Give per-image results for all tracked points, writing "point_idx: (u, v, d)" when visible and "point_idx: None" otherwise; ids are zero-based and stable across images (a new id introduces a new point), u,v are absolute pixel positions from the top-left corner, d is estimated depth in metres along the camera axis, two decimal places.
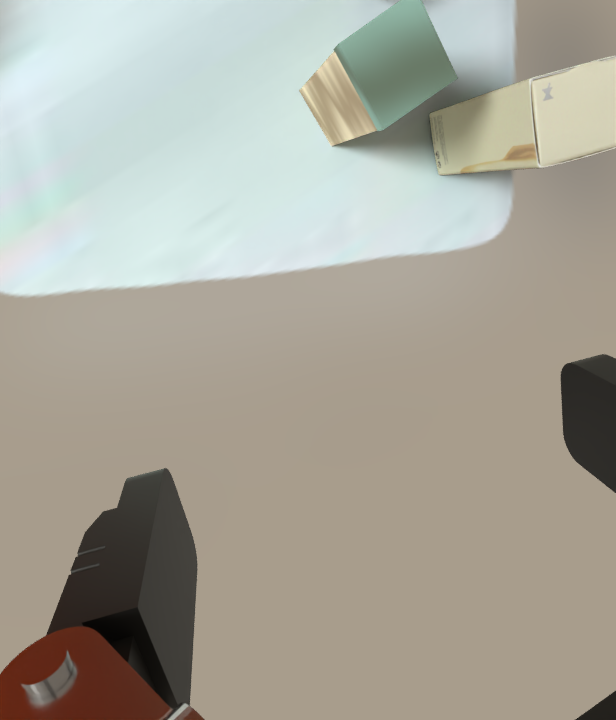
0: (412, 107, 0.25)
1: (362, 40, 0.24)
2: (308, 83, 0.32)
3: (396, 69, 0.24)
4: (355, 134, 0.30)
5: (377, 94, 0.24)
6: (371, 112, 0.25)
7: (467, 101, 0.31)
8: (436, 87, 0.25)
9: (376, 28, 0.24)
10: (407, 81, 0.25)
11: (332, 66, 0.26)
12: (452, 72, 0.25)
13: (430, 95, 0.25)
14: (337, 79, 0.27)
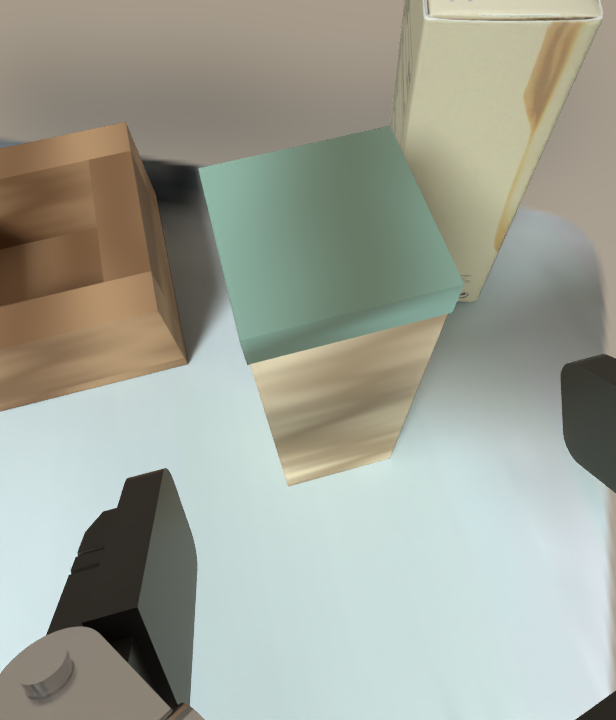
0: (427, 215, 0.10)
1: (251, 286, 0.10)
2: (285, 464, 0.17)
3: (336, 232, 0.10)
4: (410, 391, 0.14)
5: (378, 281, 0.10)
6: (412, 308, 0.10)
7: None
8: (397, 163, 0.11)
9: (238, 255, 0.10)
10: (368, 216, 0.10)
11: (278, 389, 0.12)
12: (375, 132, 0.11)
13: (410, 178, 0.11)
14: (305, 388, 0.12)
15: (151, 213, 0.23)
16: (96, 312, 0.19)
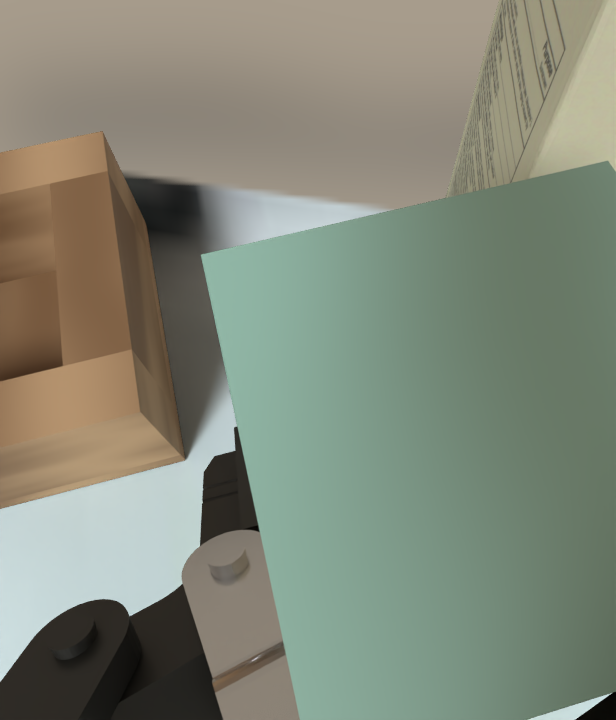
0: None
1: (338, 592, 0.04)
2: None
3: (530, 423, 0.04)
4: None
5: None
6: None
7: None
8: None
9: (297, 485, 0.04)
10: (598, 380, 0.04)
11: None
12: (581, 175, 0.05)
13: None
14: None
15: (137, 253, 0.17)
16: (50, 414, 0.13)
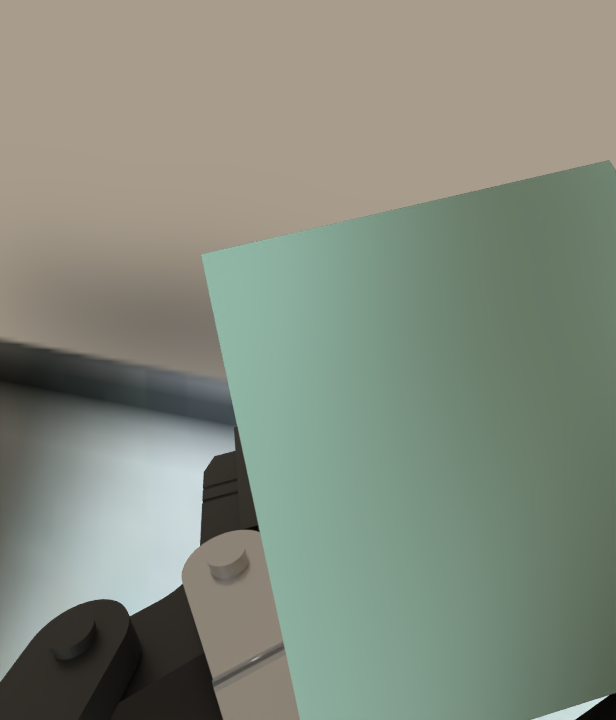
0: None
1: (338, 592, 0.04)
2: None
3: (529, 423, 0.04)
4: None
5: None
6: None
7: None
8: None
9: (296, 485, 0.04)
10: (600, 380, 0.04)
11: None
12: (582, 174, 0.05)
13: None
14: None
15: None
16: None
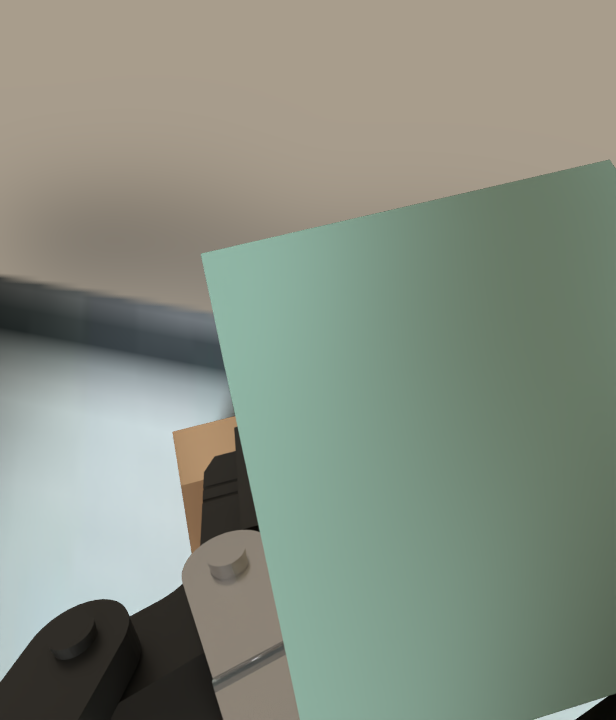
0: None
1: (338, 593, 0.04)
2: None
3: (531, 422, 0.04)
4: None
5: None
6: None
7: None
8: None
9: (297, 486, 0.04)
10: (599, 379, 0.04)
11: None
12: (582, 174, 0.05)
13: None
14: None
15: None
16: None
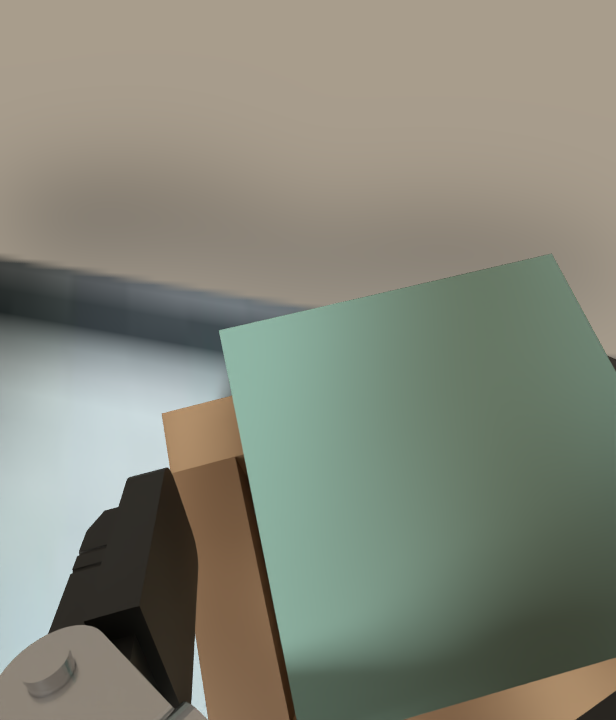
0: None
1: (323, 606, 0.05)
2: None
3: (476, 475, 0.05)
4: None
5: (574, 602, 0.05)
6: None
7: None
8: (576, 332, 0.06)
9: (293, 522, 0.05)
10: (532, 440, 0.06)
11: None
12: (529, 266, 0.06)
13: (602, 361, 0.06)
14: None
15: None
16: (564, 710, 0.11)
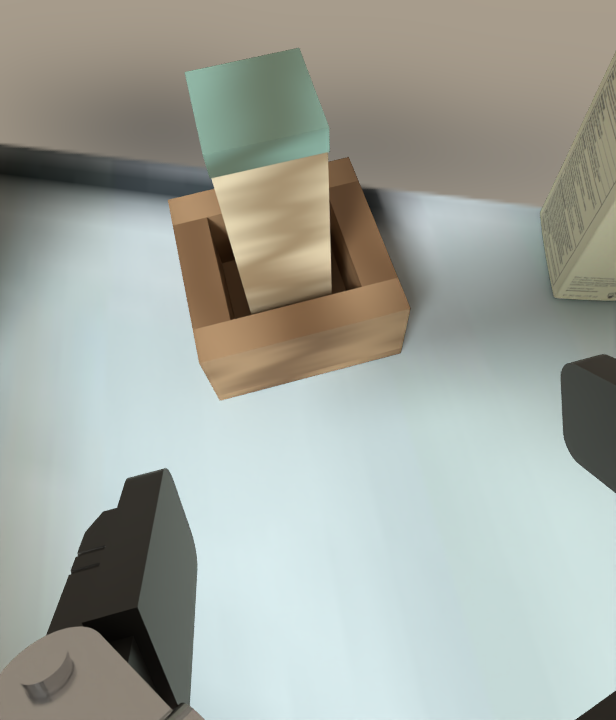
0: (313, 93, 0.18)
1: (211, 130, 0.17)
2: (250, 302, 0.25)
3: (261, 104, 0.18)
4: (325, 231, 0.22)
5: (281, 126, 0.17)
6: (302, 143, 0.17)
7: (600, 226, 0.23)
8: (300, 67, 0.18)
9: (205, 116, 0.18)
10: (281, 96, 0.18)
11: (232, 208, 0.19)
12: (290, 51, 0.19)
13: (307, 75, 0.18)
14: (250, 211, 0.20)
15: None
16: (362, 310, 0.24)
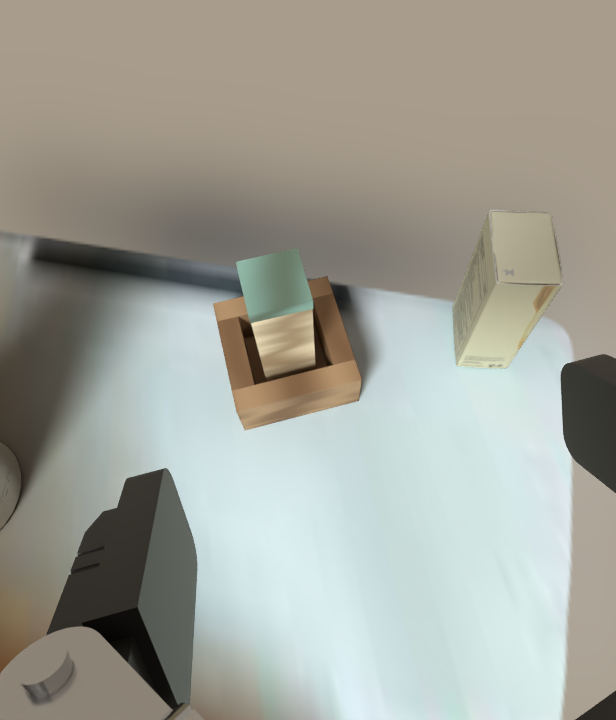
0: (305, 279, 0.34)
1: (251, 300, 0.33)
2: (265, 372, 0.41)
3: (277, 283, 0.34)
4: (311, 338, 0.38)
5: (288, 299, 0.33)
6: (299, 307, 0.33)
7: (473, 332, 0.40)
8: (298, 261, 0.34)
9: (248, 290, 0.34)
10: (288, 279, 0.34)
11: (260, 333, 0.35)
12: (292, 250, 0.35)
13: (302, 266, 0.34)
14: (269, 333, 0.36)
15: None
16: (332, 380, 0.40)
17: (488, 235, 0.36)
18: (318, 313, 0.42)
